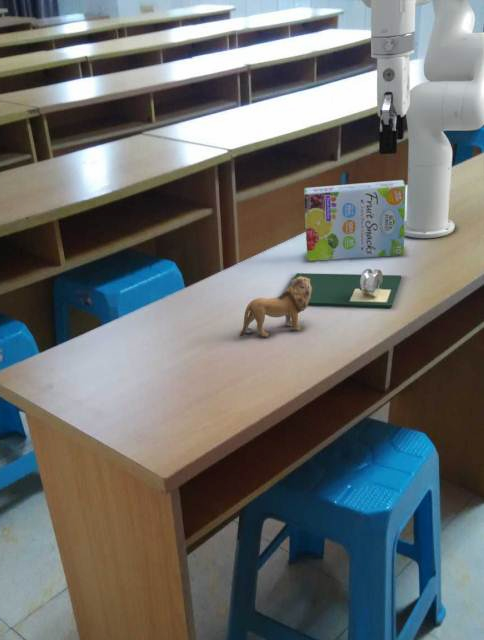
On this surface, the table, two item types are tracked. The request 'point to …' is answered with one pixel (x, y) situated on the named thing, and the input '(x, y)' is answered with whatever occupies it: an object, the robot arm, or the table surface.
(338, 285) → the desk mat
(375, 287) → the grooved metal pulley
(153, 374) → the table surface
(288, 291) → the lion figurine
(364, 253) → the snack box
